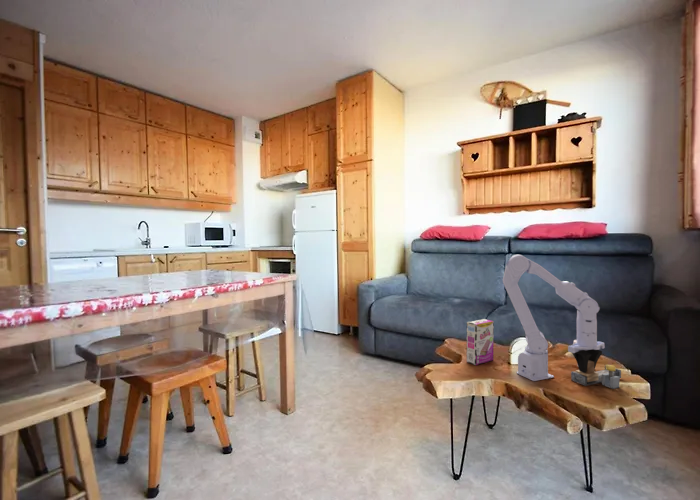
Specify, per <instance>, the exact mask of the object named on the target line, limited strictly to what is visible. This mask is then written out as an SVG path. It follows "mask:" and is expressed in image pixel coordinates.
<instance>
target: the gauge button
mask: <svg viewBox="0 0 700 500" xmlns="http://www.w3.org/2000/svg"><path fill="white" fill-rule="evenodd" d="M605 365H606V370H609V380H610V377H613V371H616V369H617V368H616V366H615V365H612V364H605Z"/></svg>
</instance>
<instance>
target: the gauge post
mask: <svg viewBox="0 0 700 500" xmlns="http://www.w3.org/2000/svg"><path fill="white" fill-rule="evenodd" d="M601 385H602V386H604V387H607V388H610V389H612V390H614V389H620V379H619V377H618V376H614V377H610V380H609V373H607V374H602V383H601Z"/></svg>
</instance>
